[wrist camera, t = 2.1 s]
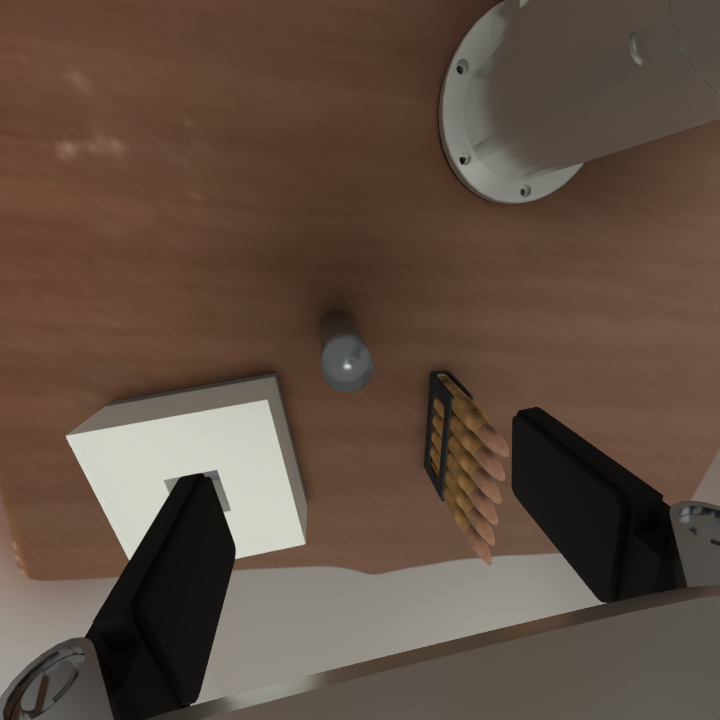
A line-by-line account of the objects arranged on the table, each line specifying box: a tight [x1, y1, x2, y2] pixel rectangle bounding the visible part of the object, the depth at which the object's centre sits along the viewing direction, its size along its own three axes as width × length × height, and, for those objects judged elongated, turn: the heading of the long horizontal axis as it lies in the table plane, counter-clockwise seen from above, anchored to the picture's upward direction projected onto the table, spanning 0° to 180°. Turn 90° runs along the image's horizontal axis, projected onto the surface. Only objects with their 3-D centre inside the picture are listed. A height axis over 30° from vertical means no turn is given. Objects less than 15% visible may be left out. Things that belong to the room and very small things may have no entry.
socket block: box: [66, 373, 307, 561], centre depth 28 cm, size 14×14×6 cm
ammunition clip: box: [424, 371, 509, 565], centre depth 27 cm, size 11×2×12 cm, turn 0°
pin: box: [321, 311, 374, 392], centre depth 24 cm, size 3×3×10 cm
